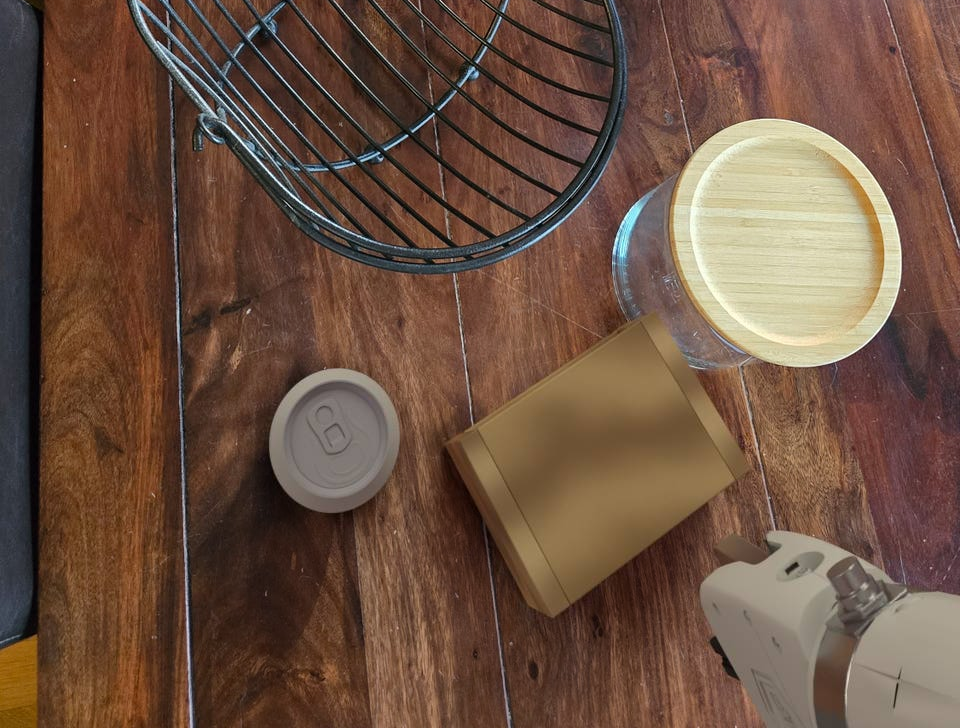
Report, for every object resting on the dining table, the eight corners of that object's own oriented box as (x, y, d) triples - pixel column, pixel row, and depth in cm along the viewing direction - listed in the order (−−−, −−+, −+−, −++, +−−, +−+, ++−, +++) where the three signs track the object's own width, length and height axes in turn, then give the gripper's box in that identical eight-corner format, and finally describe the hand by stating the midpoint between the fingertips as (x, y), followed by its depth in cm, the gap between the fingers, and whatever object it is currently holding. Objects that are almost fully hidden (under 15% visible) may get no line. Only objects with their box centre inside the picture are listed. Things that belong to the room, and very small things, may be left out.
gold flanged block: (713, 469, 72) (752, 468, 66) (528, 606, 67) (552, 619, 61) (626, 323, 76) (655, 309, 69) (444, 443, 71) (458, 440, 65)
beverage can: (306, 533, 67) (308, 544, 57) (251, 423, 70) (244, 414, 59) (406, 463, 70) (427, 461, 59) (351, 359, 72) (361, 339, 62)
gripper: (721, 564, 42) (599, 534, 58) (985, 1021, 37) (772, 850, 53) (870, 447, 45) (713, 450, 61) (1135, 860, 40) (888, 743, 56)
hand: (741, 637), depth 57 cm, fingers closed
